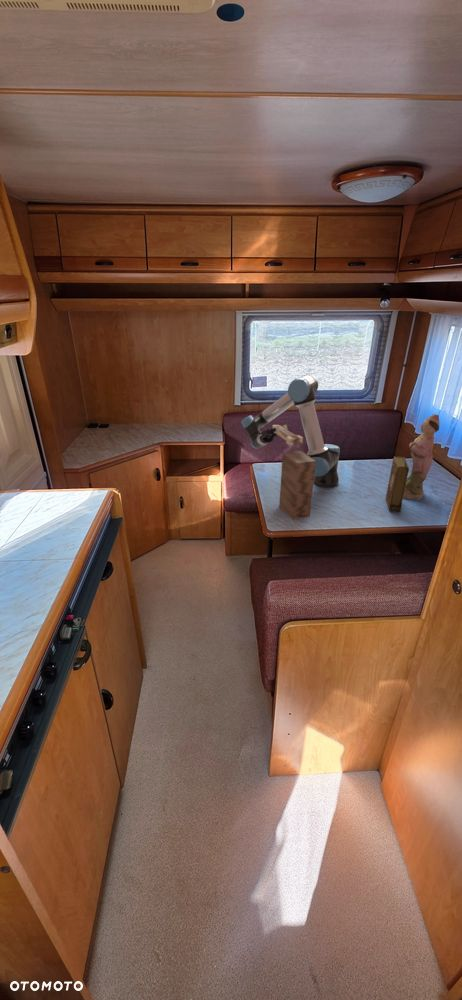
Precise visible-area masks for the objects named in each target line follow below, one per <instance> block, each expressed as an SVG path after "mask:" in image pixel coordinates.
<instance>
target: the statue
mask: <svg viewBox="0 0 462 1000" xmlns="http://www.w3.org/2000/svg"><path fill="white" fill-rule="evenodd" d="M440 426H441V425H440V416H439V415H438V414H431V415H430V416H429V417H427V418H425V419H424V420H423V422H422V423H421V424H420V431H421V434H420V435H419V436H418V437H417V438H415V439H414V441H411V442H409V444H408V447H409V449H410V456H411V458H412V467H411V471H410V475H408V476H407V481H406V486H405V491H404V495H403V499H405V498H407V500H413V499H416V500H420V498H421V499H422V498H423V497H424V493H425V492H424V489H423V487H424V486H423V484H424V482H425V480H426V479H427V476H428V474H429V472H430V469H431V466H432V463H433V458H434V455H433V448H434V444H435V433H437V432H438V431H439V430H440Z"/></svg>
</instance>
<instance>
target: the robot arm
mask: <svg viewBox="0 0 462 1000" xmlns="http://www.w3.org/2000/svg"><path fill="white" fill-rule="evenodd" d="M318 388H319V381H318V379H317V378H316V377H315V376H314V375H312V374H308V373H307V374H304V375H302V376H298V377H297V378H296V377H295V378H294V379H293V380H291V382H290V383H289V385H288V387H287V392H286V393H285V394H284V395H282V396H281V397H280V398H278V399H277V400H276V401H274V403H272V404H271V405H269V406H268V407H266V409H264V410H263V411H261V412H260V413H259V414H257V415H256V416H253V415H252V414H251V415H248V416H246V417H245V418H243V419H242V420H241V421H240V423H241V425H242V427H243V430H244V431H245V432H246V434H247V436H248V437H249V439H250V441H249V442H250V446H251V447H252V448H254V449H261V448H262V447H266V445H267V444H270V443H272V442H273V441H274V439H275V438H276V437H277V436H278V437H280V436H279V435H277V434H276V432H278V431H280V426H281V425H280V426H279V424H277V425H278V426H276V427H274V428H273V429H272V428H270V429H269V428H268V429H264V430H263V431H262V430H261V428H264V427H265V426H267V425H268V424H269V423H270V422H272V421H273V420H274V419H276V418H277V417H278V416H280V415H281V414H282V413H284V412H285V411H287V410H288V409H289V408H291V407H292V406H295V407H296V408H297V409H298V412H299V416H300V420H301V424H302V428H303V432H304V436H305V439H306V443H307V447H308V451H307V454H306V455H308V456H309V457H311V458H312V459H314V460H315V461H316V463H315V472H314V482H313V485H316V486H319V487H322V488H333V487H337V486H338V485H339V481H340V479H339V474H338V467H339V458H340V453H341V451H340V450H341V449H340V447H339V446H338V445H336V444H329V443H325V444H324V438H323V434H322V430H321V427H320V423H319V418H318V414H317V410H316V406H315V402H316V400H317V398H316V393H317V391H318ZM282 427H283V428H285V429H286V430H288V425H287V424H284V425H282ZM288 431H289V430H288Z"/></svg>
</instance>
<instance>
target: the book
mask: <svg viewBox="0 0 462 1000" xmlns="http://www.w3.org/2000/svg"><path fill="white" fill-rule="evenodd" d="M409 470H410V466H409V464H408V462H407V460H406V458H405V456H402V455H394V456H393V458H392V463H391V470H390V474H389V479H388V485H387V491H386V493H385V494H386V495H385V501H386V502H385V503H386V506H387V509H388V511H389V512H390V511H395V512H398V513H400V512H401V508H402V505H403V500H404V498H403V495H404V491H405V486H406V481H407V477H409Z"/></svg>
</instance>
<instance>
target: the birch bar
mask: <svg viewBox="0 0 462 1000" xmlns="http://www.w3.org/2000/svg"><path fill="white" fill-rule="evenodd" d="M278 425H279V424H272V427H271V429H273V428H274V427H276V426H278ZM279 426H280V431H278V432H276V434H277V436H278V435H279V436H278V437H280V438H282V439H283V440H284V441H285V443H286V445H288V446H299V445H303V443H304V437H303V436H301V435H299V434H298V435H296V434H295V433H293V432H291V431H289V430H286V429H285V428H283V427H282V426H283V425H282V426H281V425H279Z"/></svg>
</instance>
